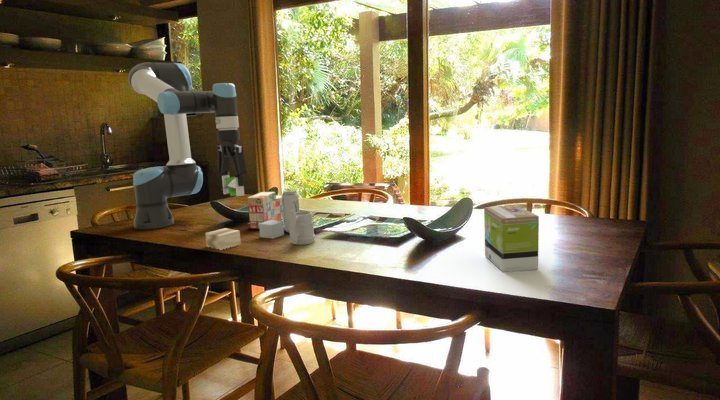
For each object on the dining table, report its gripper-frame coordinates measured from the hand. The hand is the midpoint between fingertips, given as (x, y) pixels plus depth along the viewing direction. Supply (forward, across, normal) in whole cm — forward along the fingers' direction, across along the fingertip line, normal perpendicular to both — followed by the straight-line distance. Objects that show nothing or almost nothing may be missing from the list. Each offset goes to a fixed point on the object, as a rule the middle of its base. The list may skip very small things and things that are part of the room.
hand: (233, 194), depth 182 cm
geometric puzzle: (+1, 0, 0) cm, 1 cm away
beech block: (+16, +6, -9) cm, 19 cm away
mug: (+16, +26, +8) cm, 31 cm away
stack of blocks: (+16, -11, +22) cm, 29 cm away
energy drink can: (+16, +9, +18) cm, 25 cm away
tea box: (+16, +90, +30) cm, 96 cm away
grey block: (+16, +9, +9) cm, 20 cm away
